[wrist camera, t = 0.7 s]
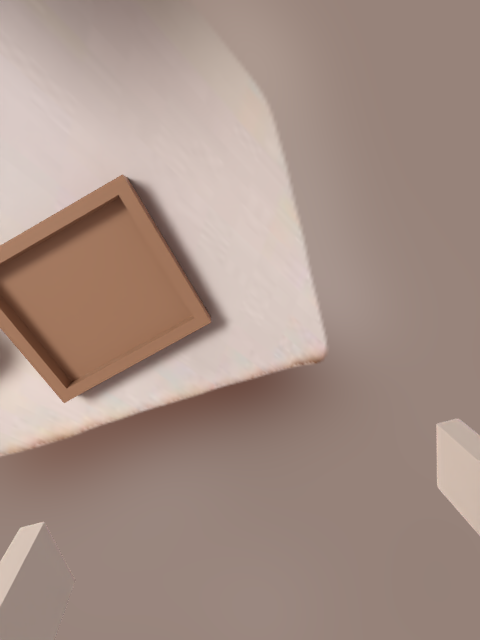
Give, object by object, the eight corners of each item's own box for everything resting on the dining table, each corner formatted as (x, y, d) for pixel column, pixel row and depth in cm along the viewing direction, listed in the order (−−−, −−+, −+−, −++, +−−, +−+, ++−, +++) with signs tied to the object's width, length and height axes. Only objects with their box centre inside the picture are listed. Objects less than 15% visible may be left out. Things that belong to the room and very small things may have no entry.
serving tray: (-31, 269, 31) (-47, 272, 29) (127, 177, 30) (122, 174, 28) (71, 393, 36) (64, 403, 34) (210, 316, 35) (211, 322, 33)
